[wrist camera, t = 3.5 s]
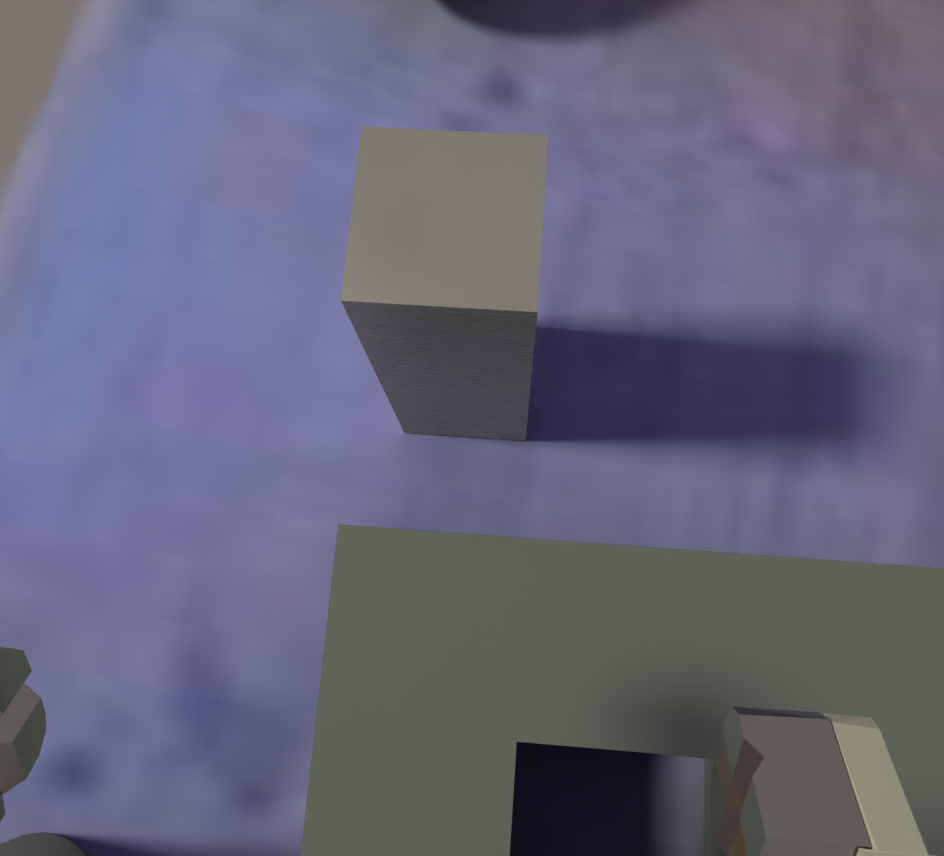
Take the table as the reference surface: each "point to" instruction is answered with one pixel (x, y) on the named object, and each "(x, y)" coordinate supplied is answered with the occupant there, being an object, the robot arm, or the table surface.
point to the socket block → (592, 672)
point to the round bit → (40, 846)
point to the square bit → (448, 275)
